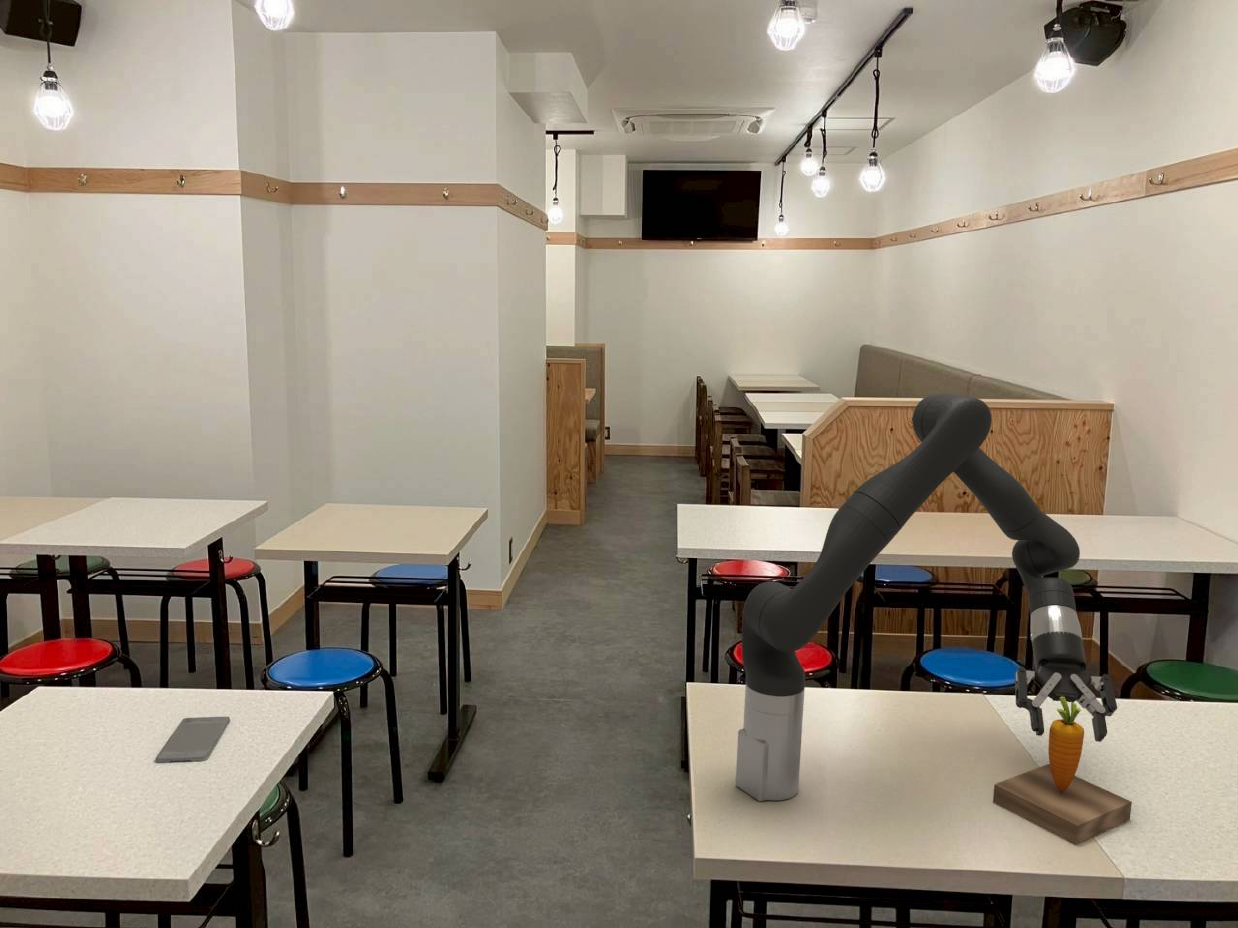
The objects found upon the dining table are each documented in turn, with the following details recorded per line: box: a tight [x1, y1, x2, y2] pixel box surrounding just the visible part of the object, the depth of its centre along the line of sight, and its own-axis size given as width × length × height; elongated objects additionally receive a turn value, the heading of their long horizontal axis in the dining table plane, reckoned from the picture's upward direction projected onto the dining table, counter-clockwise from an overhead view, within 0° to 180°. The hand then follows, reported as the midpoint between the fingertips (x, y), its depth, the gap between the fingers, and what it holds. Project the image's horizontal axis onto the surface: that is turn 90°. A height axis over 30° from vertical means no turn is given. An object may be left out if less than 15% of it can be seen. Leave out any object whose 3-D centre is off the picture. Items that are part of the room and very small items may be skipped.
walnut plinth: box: [992, 763, 1133, 846], centre depth 147 cm, size 14×14×3 cm
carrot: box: [1048, 697, 1085, 792], centre depth 146 cm, size 5×5×15 cm
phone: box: [155, 716, 231, 764], centre depth 163 cm, size 8×16×1 cm, turn 9°
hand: (1070, 736), depth 144 cm, fingers open, 8 cm apart
